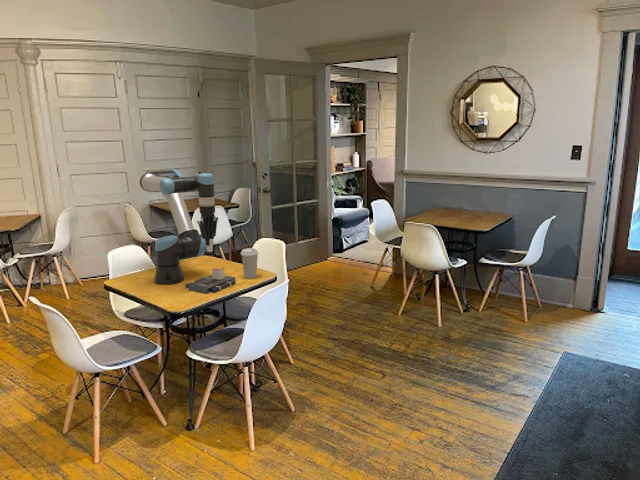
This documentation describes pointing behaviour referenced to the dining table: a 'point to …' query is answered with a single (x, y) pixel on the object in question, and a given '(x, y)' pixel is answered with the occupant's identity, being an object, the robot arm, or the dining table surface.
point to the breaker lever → (218, 273)
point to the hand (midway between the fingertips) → (209, 251)
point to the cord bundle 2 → (223, 286)
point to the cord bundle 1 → (196, 281)
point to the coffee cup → (249, 262)
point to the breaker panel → (208, 284)
